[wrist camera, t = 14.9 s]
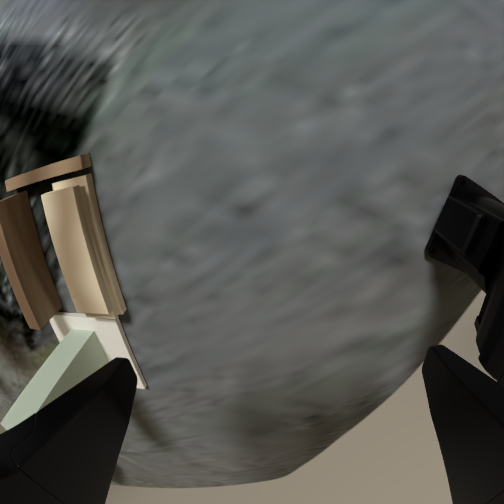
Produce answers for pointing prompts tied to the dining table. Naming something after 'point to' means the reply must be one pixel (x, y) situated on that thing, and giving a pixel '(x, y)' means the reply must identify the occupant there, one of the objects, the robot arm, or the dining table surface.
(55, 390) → the sage green brick
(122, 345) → the white mat
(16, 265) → the offcut rack
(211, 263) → the dining table surface
